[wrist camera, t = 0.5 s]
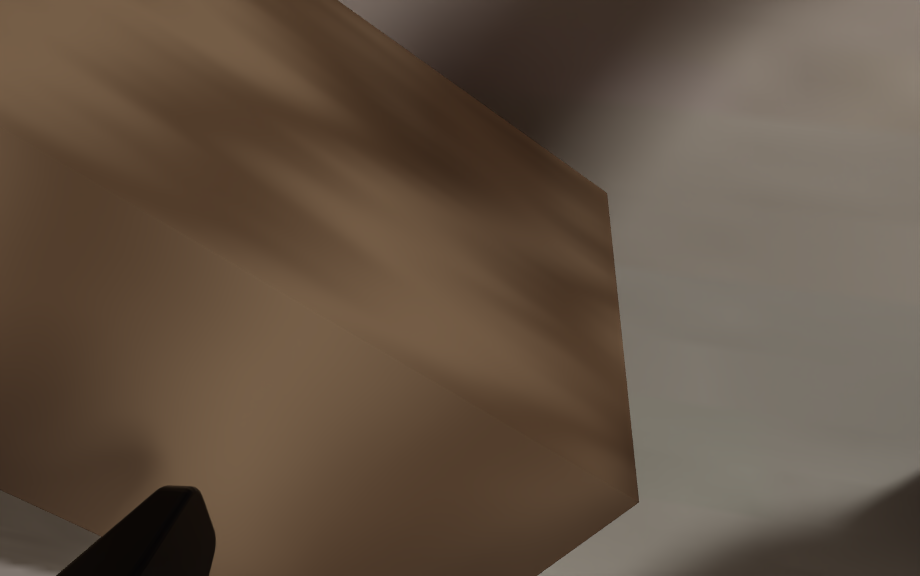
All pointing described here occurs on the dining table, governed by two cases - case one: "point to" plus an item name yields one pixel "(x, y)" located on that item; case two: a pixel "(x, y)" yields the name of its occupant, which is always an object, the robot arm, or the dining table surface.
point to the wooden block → (298, 295)
